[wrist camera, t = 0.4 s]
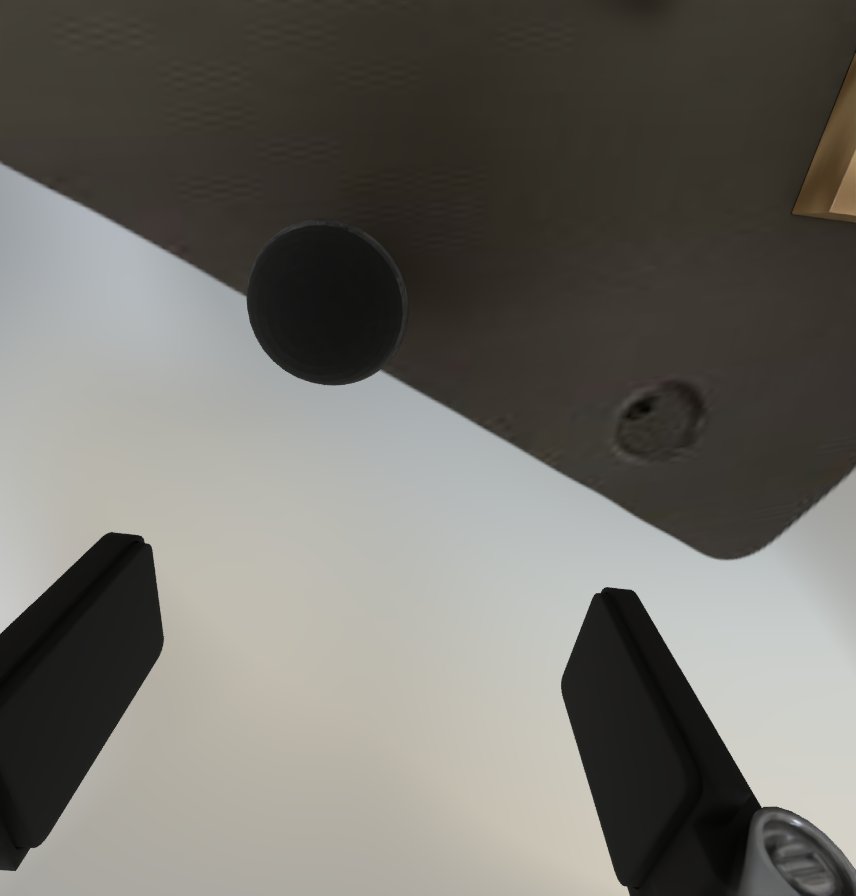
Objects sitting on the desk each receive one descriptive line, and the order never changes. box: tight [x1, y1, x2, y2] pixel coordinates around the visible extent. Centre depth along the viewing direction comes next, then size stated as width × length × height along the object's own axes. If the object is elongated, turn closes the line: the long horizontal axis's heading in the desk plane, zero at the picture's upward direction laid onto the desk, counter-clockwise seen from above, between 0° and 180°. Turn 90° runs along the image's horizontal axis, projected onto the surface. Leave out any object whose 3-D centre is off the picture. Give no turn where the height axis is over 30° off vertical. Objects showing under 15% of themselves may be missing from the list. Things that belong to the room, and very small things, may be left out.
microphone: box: [247, 219, 408, 385], centre depth 26 cm, size 7×7×20 cm
